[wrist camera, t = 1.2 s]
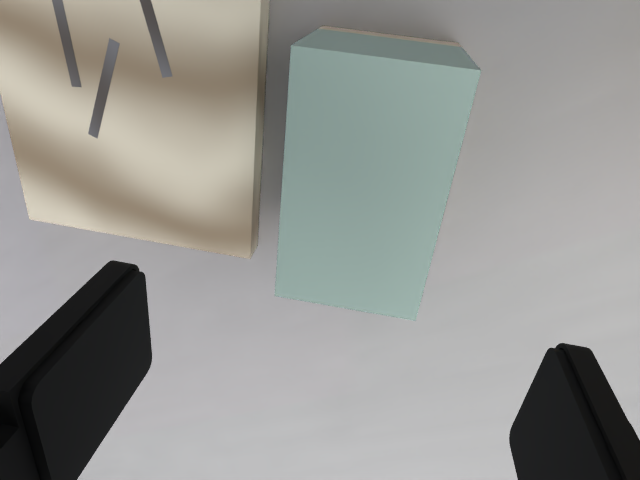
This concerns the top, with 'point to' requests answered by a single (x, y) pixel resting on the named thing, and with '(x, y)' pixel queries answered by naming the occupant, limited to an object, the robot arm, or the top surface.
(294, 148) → the block
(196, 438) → the top surface
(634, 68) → the top surface
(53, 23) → the board
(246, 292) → the top surface
